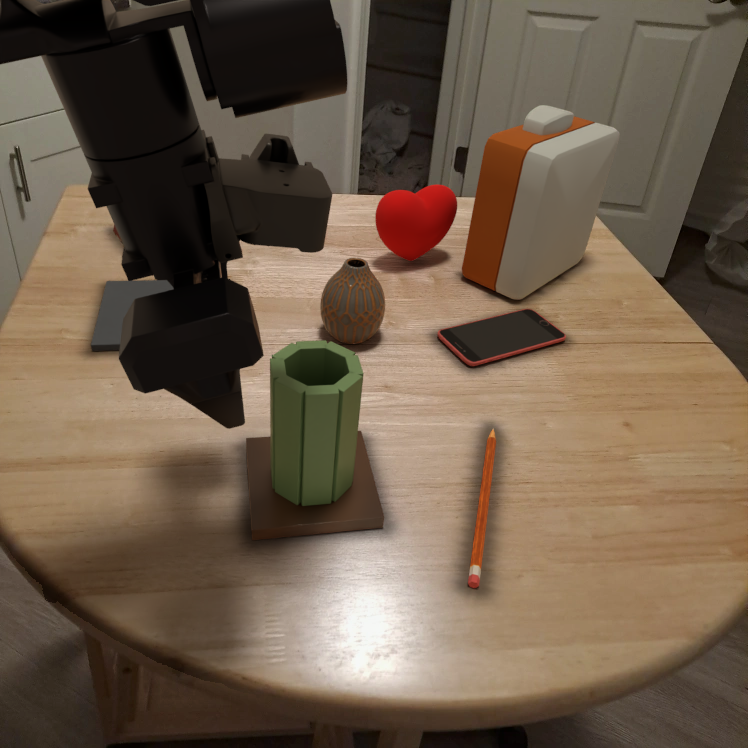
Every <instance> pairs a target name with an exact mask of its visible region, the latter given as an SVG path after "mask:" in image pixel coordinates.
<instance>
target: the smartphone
mask: <svg viewBox="0 0 748 748" xmlns="http://www.w3.org/2000/svg"><path fill="white" fill-rule="evenodd" d="M436 335H437V338H438V339H439V340H440V341H441V342H442V343H443V344H444V345H445V346H446V347H448V348H449V349H450V351H452V352H453V353H454V355H456V356H457V357H458V358H460V360H461V361H462V362H464V363H465V364H466V365H467V366H470V367H475V366H479V365H484V364H486V363H490V362H493V361H494V362H495V361H498V360H500V359H501V360H502V359H504V358H508V357H512V356H516V355H519V354H523V353H525V352H529V351H533V350H536V349H540V348H543V347H547V346H551V345H554V344H559V343H560V342H564V341H565V340H566V338H567V335H566V333H564V332H563V331H562V330H561V329H560V328H559V327H557V326H556V325H554V324H553V323H552V322H550V321H549V320H548V319H547V318H545V317H544V316H542V315H541V314H540V313H538V312H537V311H536V310H534V309H532V308H523V309H519V310H514V311H511V312H507V313H503V314H499V315H498V314H497V315H494V316H490V317H486V318H482V319H478V320H473V321H469V322H465V323H462V324H457V325H453V326H450V327H445V328H441V329H439V330H438V331H437V334H436Z"/></svg>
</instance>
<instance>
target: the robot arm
mask: <svg viewBox="0 0 748 748" xmlns="http://www.w3.org/2000/svg"><path fill="white" fill-rule="evenodd" d="M132 1H133V2H135V3H138V4H140V5H143V6H145V7H143V8H136V9H129V10H121V11H117V10H116V8H115V6H114V4H113V2H112V1H111V0H58V1H53V2H47V3H42V2H40V1H38V0H0V65H5V64H9V63H14V62H18V61H24V60H28V59H29V60H30V59H33V58H37V57H40V58H41V59H42V61H43V63H44V66H45V69H46V71H47V73H48V75H49V77H50V80H51V82H52V84H53V87H54V89H55V92H56V94H57V96H58V98H59V100H60V103H61V105H62V108H63V109H64V112H65V114H66V117H67V120H68V121H69V123H70V126H71V128H72V131H73V133H74V135H75V138H76V139H77V142H78V144H79V146H80V149H81V151H82V153H83V155H84V158H85V161H86V162H87V165H88V167H89V169H90V172H91V174H90V178H89V182H88V185H87V191H88V193H89V196H90V198H91V200H92V203H93V204H94V207H95V209H100V208H104V207H106V208H107V211H108V213H109V215H110V218H111V220H112V222H113V223H112V224H113V226H114V225H115V227H116V229H117V232H118V234H119V236H120V239H121V240H120V239H119V240H120V242H121V241H122V242H121V243H122V246H123V250H122V257H121V263H120V265H121V267H122V270H123V272H124V274H125V276H126V278H127V281H137V280H140V279H144V278H148V277H153V278H154V280H167V281H168V282H169V283H170V284H171V285H172V287H173V288H174V289H173V290H169V291H165V292H161V293H157V294H153V295H149V296H144V297H140V298H136V299H134V301H133V303H132V305H131V306H130V308H129V310H128V311H127V313H126V315H125V317H124V318H123V324H122V333H121V342H120V350H118V351H119V352H118V361H119V363H120V365H121V367H122V369H123V371H124V373H125V375H126V377H127V379H128V381H129V383H130V385H131V387H132V389H133V390H135V391H137V392H139V393H143V394H144V395H146V394H150V393H154V392H158V391H162V390H164V391H167V392H168V393H171V394H172V395H174V396H176V397H177V398H180V399H181V400H183V402H186V403H187V404H189V405H191V406H193V407H194V408H195V409H197V410H198V411H199V412H201V413H203V415H206V416H207V417H209V418H211V419H212V420H213V421H215V422H216V423H218V424H219V425H221V426H222V427H224V428H225V429H229V430H230V429H234V428H238V427H242V426H244V425H245V424H246V419H245V417H246V416H245V409H244V399H243V390H242V380H241V372H240V371H241V369H246V368H249V367H253V366H255V365H256V364H257V363H258V361H260V360H261V359H262V358H263V357H264V355H265V354H264V350H263V342H262V338H261V332H260V327H259V321H258V318H257V315H256V311H255V307H254V304H253V301H252V298H251V294H250V291H249V288H248V287H247V286H244V285H242V284H241V283H238V282H236V281H234V280H232V279H230V278H229V277H228V267H227V266H228V262H232V261H235V260H239V259H243V258H244V254H243V249H242V246H241V243H240V241H241V242H243V243H245V244H248V245H253V246H261V247H262V246H263V247H274V248H289V249H297V250H299V252H301V253H307V254H308V253H311V254H312V253H319V252H321V251H323V250H324V247H325V242H326V235H327V230H328V224H329V223H328V222H329V218H330V213H331V206H332V199H333V192H332V190H331V187H330V186H329V183H328V181H327V179H326V176H325V175H324V173H323V171H321V170H320V169H318V168H317V167H314V165H313V162H311V161H304V165H303V164H300V163H299V160H298V157H297V155H296V151H295V149H294V146H293V143H292V141H291V138H290V137H289V136H287V135H281V134H274V133H273V134H272V133H264V134H263V135H262V137H261V138H260V140H259V141H258V143H257V145H256V146H255V148H254V149H253V151H252V152H251V154H250V155H249V154H244V153H241V155H240V159H237V158H236V159H235V158H222V157H221V158H220V157H219V154H218V151H217V148H216V145H215V141H214V139H213V136H212V135H210V136H207V133H206V131H205V129H201V125H200V122H199V118H198V115H197V112H196V109H195V106H194V101H193V99H192V96H191V93H190V89H189V86H188V82H187V80H186V77H185V72H184V70H183V66H182V64H181V60H180V57H179V55H178V51H177V47H176V45H175V41H174V38H173V35H172V31H171V29H175V28H179V27H183V30H184V32H185V36H186V39H187V42H188V47H189V50H190V53H191V57H192V62H193V63H194V68H195V70H196V74H197V78H198V81H199V84H200V86H201V90H202V92H203V95H204V98H205V101H206V102H212V101H215V100H218V103H219V106H220V109H221V110H226V109H230V108H232V109H231V110H232V111H233V115H234V118H235V119H238V118H242V117H243V118H244V117H246V116H251V115H257V114H261V113H265V112H270V111H273V110H279V109H283V108H287V107H292V106H297V105H300V104H304V103H309V102H313V101H318V100H323V99H326V98H327V99H328V98H331V97H335V96H336V97H337V96H340V95H345V94H347V91H348V68H347V58H346V50H345V44H344V37H343V32H342V27H341V24H340V23H339V22H338V21H337V20H336V19H335V15H334V10H333V6H332V1H331V0H132Z"/></svg>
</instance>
